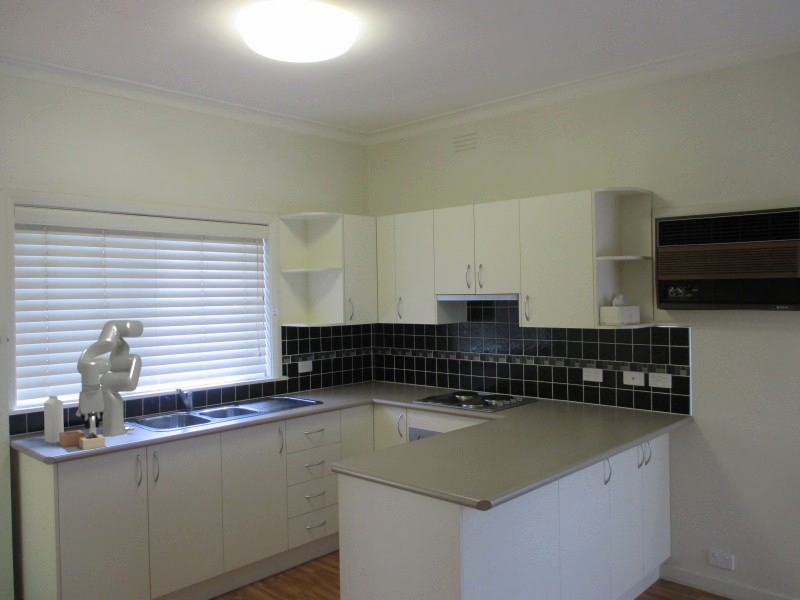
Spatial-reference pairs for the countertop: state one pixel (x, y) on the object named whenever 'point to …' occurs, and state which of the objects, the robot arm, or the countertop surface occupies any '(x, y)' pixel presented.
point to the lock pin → (92, 425)
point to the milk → (53, 419)
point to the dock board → (79, 441)
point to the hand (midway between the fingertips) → (92, 427)
